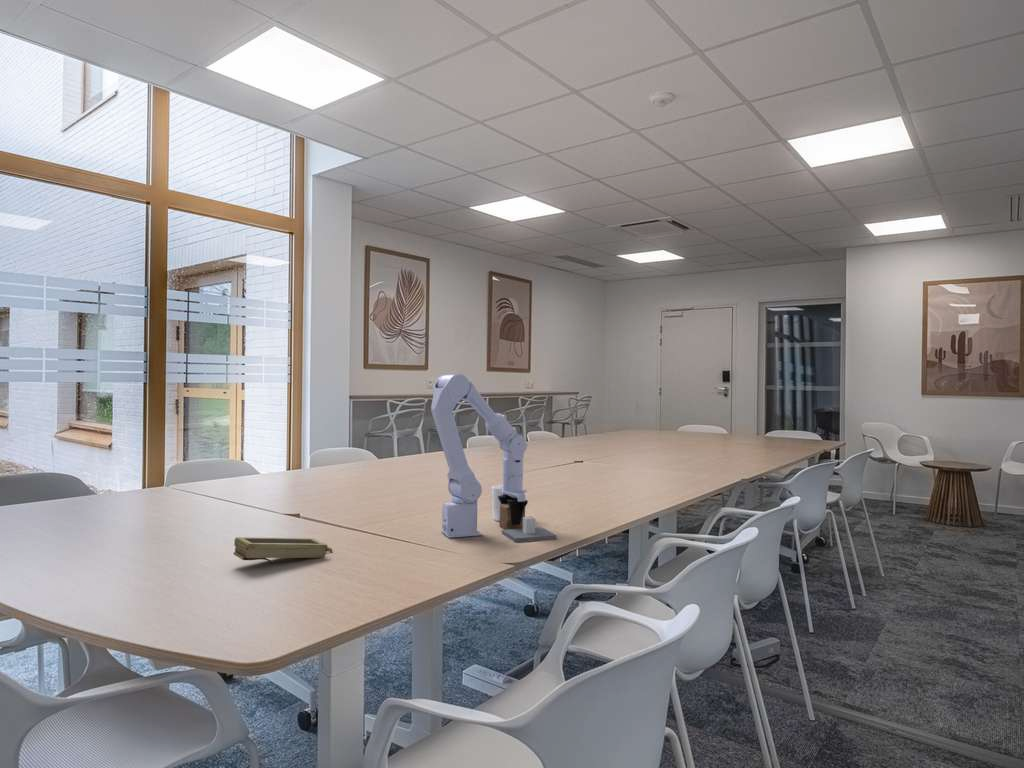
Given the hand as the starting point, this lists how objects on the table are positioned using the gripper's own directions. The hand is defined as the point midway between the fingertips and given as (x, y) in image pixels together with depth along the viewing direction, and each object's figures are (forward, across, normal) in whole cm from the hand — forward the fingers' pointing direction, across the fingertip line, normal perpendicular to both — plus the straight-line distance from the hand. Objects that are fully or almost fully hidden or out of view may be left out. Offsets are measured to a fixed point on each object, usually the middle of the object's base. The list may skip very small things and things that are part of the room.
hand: (512, 522), depth 178 cm
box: (+2, -14, +61) cm, 62 cm away
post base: (+2, -10, -1) cm, 10 cm away
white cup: (+2, +12, -2) cm, 12 cm away
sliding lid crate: (+2, 0, 0) cm, 2 cm away
